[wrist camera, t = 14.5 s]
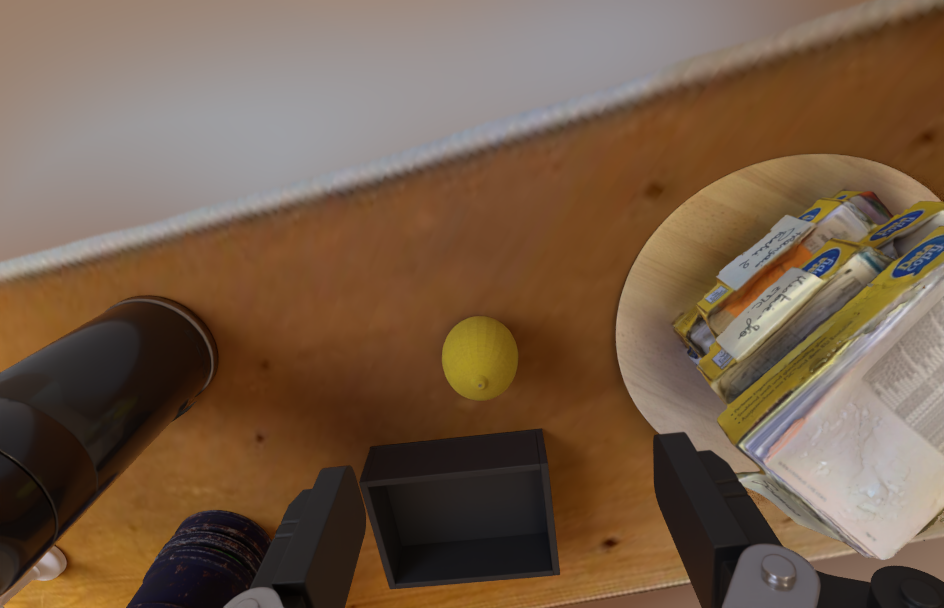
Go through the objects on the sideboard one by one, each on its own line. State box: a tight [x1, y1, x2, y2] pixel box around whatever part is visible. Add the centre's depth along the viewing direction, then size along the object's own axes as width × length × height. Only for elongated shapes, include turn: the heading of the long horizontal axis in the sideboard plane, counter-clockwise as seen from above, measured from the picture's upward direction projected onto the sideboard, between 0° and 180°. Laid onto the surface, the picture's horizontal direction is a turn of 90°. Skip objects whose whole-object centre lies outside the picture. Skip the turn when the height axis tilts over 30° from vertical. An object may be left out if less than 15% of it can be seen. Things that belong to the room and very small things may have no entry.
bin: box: [359, 429, 560, 589], centre depth 45 cm, size 15×12×4 cm
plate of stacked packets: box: [616, 154, 944, 560], centre depth 32 cm, size 25×25×17 cm
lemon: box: [442, 316, 518, 401], centre depth 37 cm, size 6×6×8 cm
